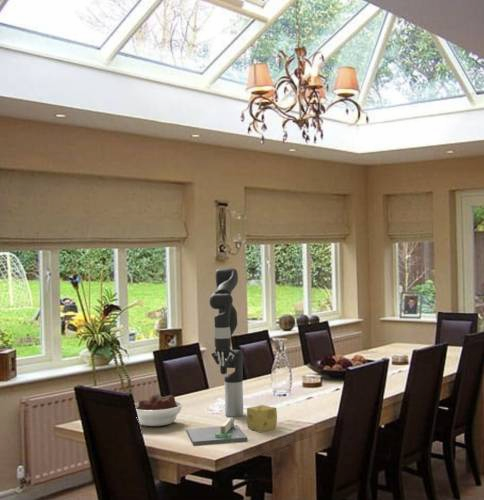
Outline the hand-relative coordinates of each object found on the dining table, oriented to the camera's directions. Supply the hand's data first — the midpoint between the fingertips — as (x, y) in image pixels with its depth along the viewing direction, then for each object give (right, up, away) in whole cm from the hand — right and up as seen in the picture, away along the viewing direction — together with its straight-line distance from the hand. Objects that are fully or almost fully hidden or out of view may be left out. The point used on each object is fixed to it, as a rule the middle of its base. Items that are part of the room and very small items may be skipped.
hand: (223, 373), depth 333 cm
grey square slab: (-3, -27, -9) cm, 28 cm away
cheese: (+18, -27, +3) cm, 32 cm away
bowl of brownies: (-33, -28, +18) cm, 47 cm away
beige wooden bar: (+2, -25, -7) cm, 26 cm away
